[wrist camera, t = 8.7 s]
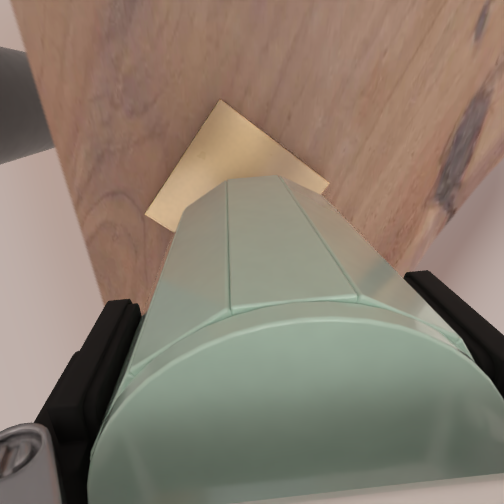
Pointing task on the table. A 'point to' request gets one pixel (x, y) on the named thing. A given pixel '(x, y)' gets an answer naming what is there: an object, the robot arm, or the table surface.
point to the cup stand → (226, 164)
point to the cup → (287, 366)
